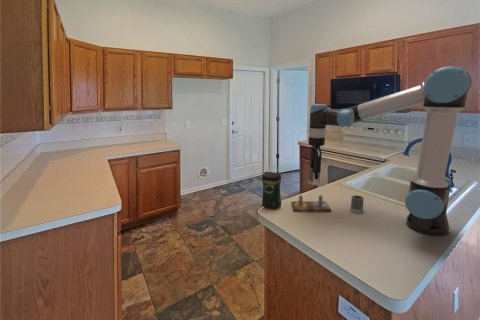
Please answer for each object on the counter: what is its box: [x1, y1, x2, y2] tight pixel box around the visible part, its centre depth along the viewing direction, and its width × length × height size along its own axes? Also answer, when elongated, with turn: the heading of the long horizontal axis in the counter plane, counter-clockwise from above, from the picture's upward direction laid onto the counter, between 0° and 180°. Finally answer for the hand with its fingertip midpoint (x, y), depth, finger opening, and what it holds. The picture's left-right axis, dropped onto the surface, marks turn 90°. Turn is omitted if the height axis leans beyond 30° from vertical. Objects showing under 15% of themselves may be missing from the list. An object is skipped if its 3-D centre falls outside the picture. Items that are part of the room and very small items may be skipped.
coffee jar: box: [261, 171, 282, 210], centre depth 139 cm, size 10×8×19 cm
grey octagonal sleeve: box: [349, 195, 364, 214], centre depth 133 cm, size 6×6×7 cm
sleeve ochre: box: [307, 167, 321, 186], centre depth 133 cm, size 6×6×7 cm
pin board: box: [291, 194, 332, 213], centre depth 137 cm, size 18×10×7 cm, turn 87°
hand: (313, 182), depth 134 cm, fingers closed on sleeve ochre, 6 cm apart
